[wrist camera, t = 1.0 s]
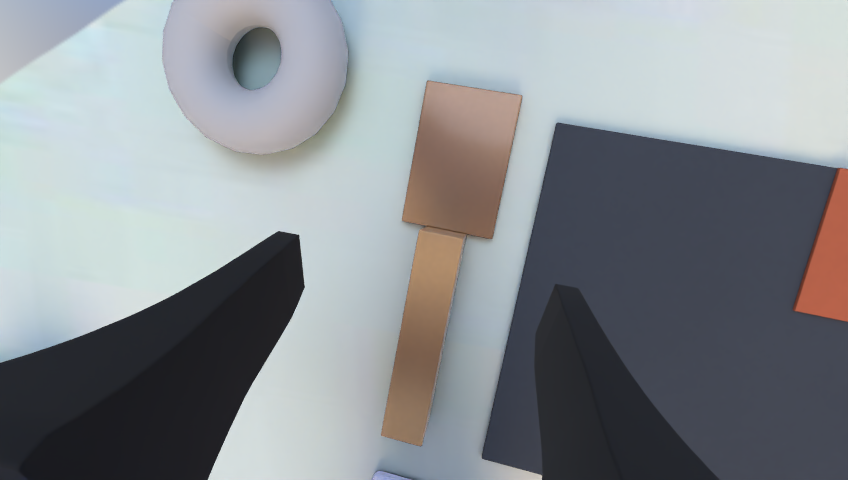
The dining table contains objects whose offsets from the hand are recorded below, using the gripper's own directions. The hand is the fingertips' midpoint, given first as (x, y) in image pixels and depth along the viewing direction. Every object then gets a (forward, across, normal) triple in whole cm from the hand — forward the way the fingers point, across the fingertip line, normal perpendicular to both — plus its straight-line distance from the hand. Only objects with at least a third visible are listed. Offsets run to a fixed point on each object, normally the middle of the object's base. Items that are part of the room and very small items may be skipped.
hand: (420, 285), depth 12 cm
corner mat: (+8, -15, +8) cm, 18 cm away
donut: (+15, +11, 0) cm, 18 cm away
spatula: (+9, 0, +7) cm, 12 cm away
